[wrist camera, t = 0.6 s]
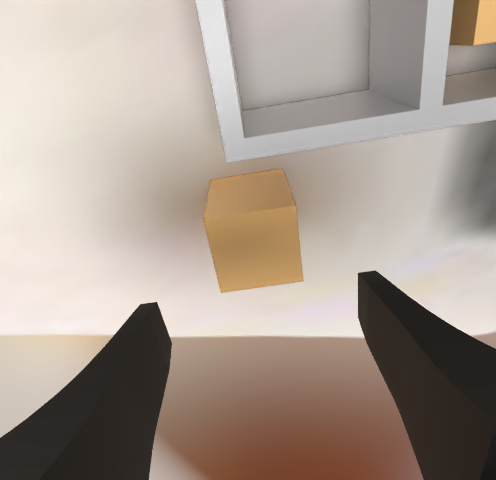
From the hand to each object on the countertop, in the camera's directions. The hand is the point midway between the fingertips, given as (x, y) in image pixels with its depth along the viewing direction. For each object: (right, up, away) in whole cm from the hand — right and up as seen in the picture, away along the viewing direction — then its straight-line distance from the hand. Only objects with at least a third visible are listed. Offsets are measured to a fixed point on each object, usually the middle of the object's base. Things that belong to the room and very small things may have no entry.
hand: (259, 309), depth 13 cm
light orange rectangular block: (0, +4, +8) cm, 9 cm away
